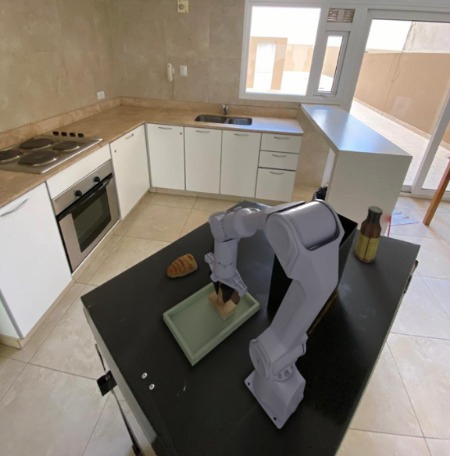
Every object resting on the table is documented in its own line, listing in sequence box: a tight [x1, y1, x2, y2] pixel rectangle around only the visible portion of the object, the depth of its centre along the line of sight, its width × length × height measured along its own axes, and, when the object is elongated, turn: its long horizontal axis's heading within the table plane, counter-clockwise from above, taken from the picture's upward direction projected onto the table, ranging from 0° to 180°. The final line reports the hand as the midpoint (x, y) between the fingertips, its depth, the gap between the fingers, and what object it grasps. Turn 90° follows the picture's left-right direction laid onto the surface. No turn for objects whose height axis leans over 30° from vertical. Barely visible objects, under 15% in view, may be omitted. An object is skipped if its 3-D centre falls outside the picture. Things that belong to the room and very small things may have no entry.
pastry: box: [166, 253, 198, 279], centre depth 80 cm, size 9×7×4 cm
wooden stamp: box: [208, 282, 236, 321], centre depth 67 cm, size 7×4×8 cm, turn 41°
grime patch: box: [230, 290, 240, 305], centre depth 71 cm, size 4×4×1 cm
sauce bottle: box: [354, 205, 383, 264], centre depth 86 cm, size 6×6×20 cm
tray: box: [162, 281, 261, 367], centre depth 67 cm, size 14×22×2 cm, turn 130°
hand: (223, 296), depth 68 cm, fingers closed on wooden stamp, 2 cm apart
